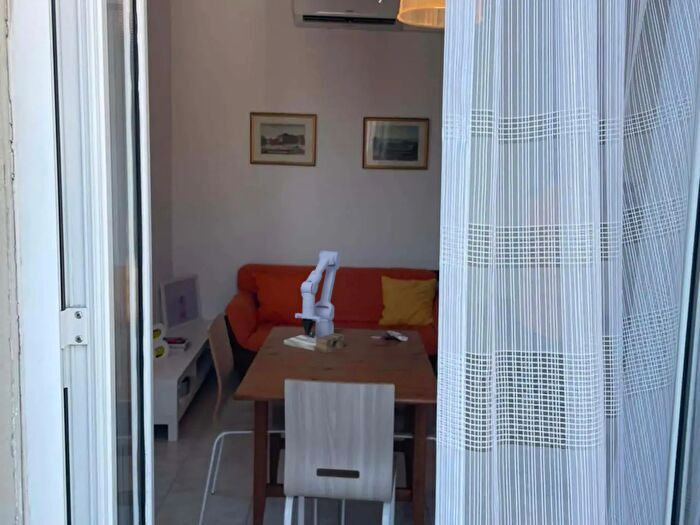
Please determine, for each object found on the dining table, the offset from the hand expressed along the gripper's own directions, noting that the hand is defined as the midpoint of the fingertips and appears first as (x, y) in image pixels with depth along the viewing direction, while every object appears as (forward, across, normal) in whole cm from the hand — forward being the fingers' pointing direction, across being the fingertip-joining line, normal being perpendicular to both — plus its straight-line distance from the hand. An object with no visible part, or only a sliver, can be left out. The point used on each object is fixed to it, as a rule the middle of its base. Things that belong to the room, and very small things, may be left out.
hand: (307, 334), depth 290 cm
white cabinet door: (+5, +3, 0) cm, 6 cm away
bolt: (+3, +6, 0) cm, 7 cm away
